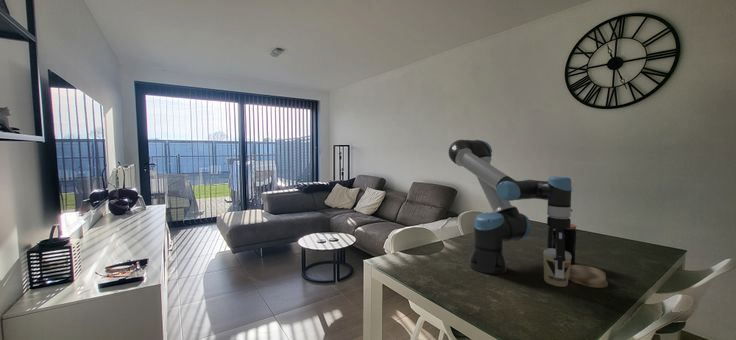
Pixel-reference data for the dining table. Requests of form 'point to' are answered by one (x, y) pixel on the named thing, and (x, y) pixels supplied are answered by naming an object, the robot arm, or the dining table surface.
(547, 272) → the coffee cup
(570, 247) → the coffee jar
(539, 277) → the dining table surface
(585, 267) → the pedestal
